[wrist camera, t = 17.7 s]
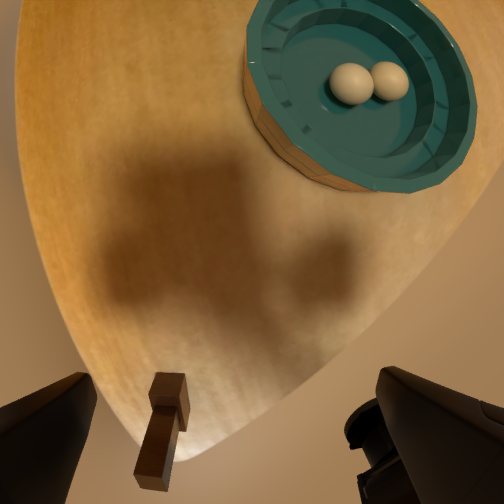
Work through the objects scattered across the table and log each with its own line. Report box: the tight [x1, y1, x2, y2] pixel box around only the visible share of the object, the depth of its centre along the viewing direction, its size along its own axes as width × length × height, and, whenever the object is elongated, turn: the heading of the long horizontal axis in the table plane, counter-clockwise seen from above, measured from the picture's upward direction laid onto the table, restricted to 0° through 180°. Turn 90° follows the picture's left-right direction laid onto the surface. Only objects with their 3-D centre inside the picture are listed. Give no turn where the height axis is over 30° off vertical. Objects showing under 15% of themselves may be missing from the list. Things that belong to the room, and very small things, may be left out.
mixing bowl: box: [244, 0, 477, 194], centre depth 15 cm, size 16×16×6 cm
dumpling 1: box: [330, 63, 374, 105], centre depth 16 cm, size 3×3×3 cm
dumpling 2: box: [369, 61, 409, 101], centre depth 16 cm, size 3×3×3 cm
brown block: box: [133, 373, 190, 492], centre depth 17 cm, size 4×2×10 cm, turn 0°
